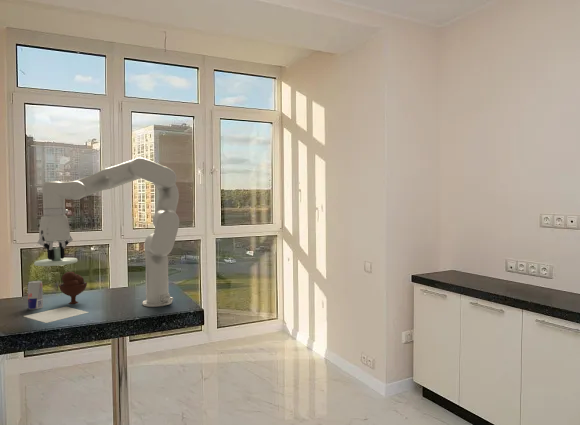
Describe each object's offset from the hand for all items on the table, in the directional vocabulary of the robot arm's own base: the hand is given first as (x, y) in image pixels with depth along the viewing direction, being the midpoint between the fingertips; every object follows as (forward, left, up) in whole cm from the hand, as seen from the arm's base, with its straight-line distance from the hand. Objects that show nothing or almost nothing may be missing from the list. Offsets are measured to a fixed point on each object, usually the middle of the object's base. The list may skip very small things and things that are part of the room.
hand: (56, 258), depth 166 cm
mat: (0, 0, -23) cm, 23 cm away
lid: (0, 0, -2) cm, 2 cm away
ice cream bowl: (+12, -14, -23) cm, 30 cm away
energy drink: (+18, -1, -24) cm, 30 cm away
